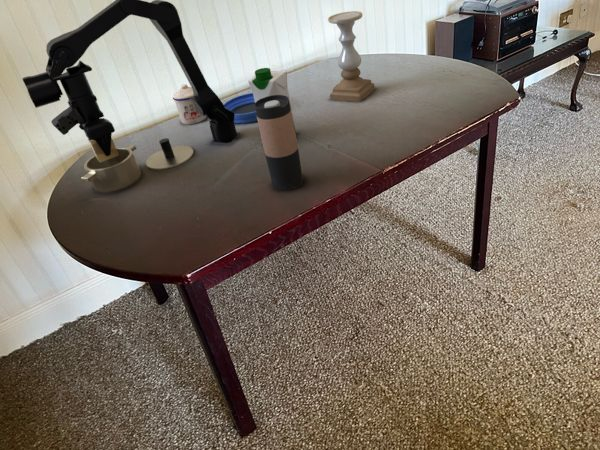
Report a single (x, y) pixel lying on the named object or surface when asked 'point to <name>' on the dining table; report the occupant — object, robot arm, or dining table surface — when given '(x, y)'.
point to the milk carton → (269, 84)
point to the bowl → (242, 108)
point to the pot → (113, 171)
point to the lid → (169, 156)
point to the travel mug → (279, 141)
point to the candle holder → (349, 61)
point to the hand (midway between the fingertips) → (105, 152)
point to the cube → (100, 153)
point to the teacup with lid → (187, 106)
